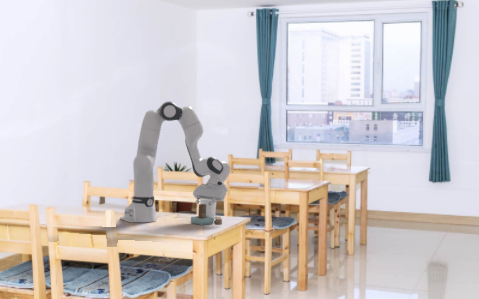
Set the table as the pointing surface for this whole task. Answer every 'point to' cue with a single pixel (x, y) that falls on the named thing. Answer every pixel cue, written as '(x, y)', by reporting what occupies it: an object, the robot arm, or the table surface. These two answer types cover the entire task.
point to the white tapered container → (209, 207)
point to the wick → (218, 220)
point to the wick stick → (202, 211)
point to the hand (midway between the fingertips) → (203, 203)
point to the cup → (202, 220)
